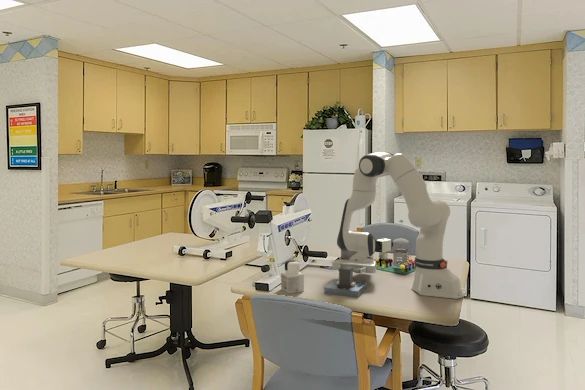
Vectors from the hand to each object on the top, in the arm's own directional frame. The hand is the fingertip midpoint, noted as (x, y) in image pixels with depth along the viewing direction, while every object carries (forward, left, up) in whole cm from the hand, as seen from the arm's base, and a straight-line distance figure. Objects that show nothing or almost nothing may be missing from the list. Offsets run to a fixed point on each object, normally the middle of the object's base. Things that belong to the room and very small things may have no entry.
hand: (349, 270), depth 206 cm
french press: (-7, -46, -8) cm, 48 cm away
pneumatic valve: (+9, -58, -8) cm, 60 cm away
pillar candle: (+27, -52, -8) cm, 59 cm away
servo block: (-1, +6, -8) cm, 10 cm away
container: (+19, +18, -8) cm, 27 cm away
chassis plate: (-1, +6, -8) cm, 10 cm away
